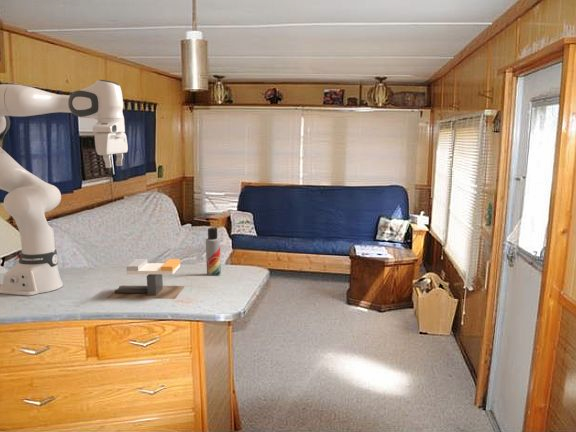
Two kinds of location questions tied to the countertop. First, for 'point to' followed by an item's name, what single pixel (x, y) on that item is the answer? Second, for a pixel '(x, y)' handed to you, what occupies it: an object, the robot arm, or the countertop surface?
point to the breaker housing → (154, 284)
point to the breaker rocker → (153, 267)
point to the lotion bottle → (213, 253)
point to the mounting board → (165, 293)
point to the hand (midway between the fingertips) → (114, 166)
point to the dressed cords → (132, 290)
